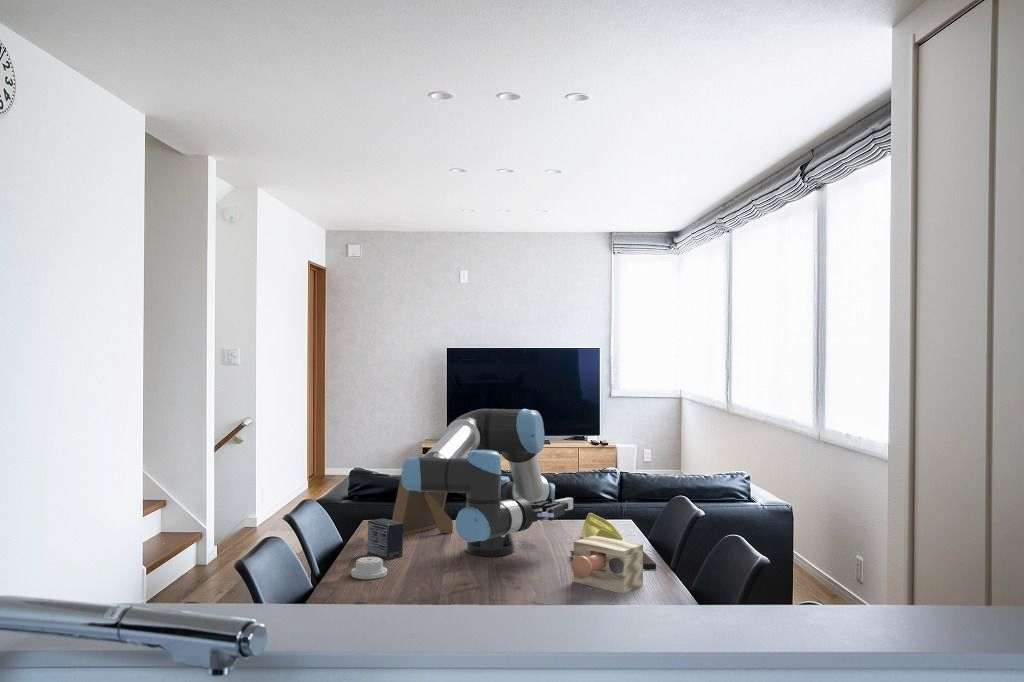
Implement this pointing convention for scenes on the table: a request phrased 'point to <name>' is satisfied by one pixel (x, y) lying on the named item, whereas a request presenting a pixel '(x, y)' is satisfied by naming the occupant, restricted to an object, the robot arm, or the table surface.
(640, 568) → the socket block
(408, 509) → the photo frame
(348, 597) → the table surface
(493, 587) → the table surface
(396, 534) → the small box
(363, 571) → the mechanical component
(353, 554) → the table surface
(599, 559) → the plug
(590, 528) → the plastic component
